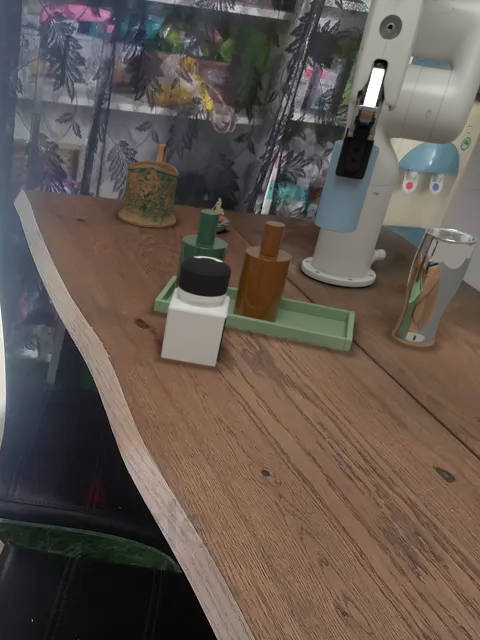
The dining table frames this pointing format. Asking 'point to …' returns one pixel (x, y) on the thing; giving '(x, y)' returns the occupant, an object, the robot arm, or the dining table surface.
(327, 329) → the tray
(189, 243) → the green bottle
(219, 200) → the figurine
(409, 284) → the beer glass
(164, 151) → the bronze bell
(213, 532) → the dining table surface
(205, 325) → the medicine bottle
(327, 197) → the blue bottle
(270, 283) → the amber bottle
